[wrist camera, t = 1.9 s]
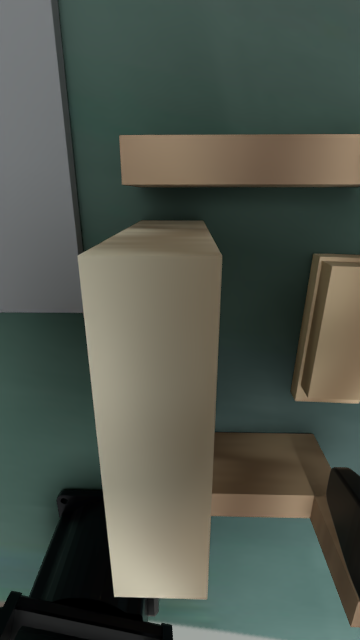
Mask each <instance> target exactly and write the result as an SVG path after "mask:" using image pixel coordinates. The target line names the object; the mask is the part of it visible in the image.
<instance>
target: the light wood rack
mask: <svg viewBox="0 0 360 640" xmlns="http://www.w3.org/2000/svg"><path fill="white" fill-rule="evenodd" d="M119 140H120V157H121V175H122V185H128V186H135V187H360V134H278V135H119ZM330 471H331V467H330V465H329V464H328V462H327V460H326V458H325V456H324V454H323V452H322V450H321V448H320V446H319V444H318V442H317V440H316V438H315V437H314V435H313V434H287V433H225V432H215V434H214V456H213V479H212V501H211V516H234V517H280V518H310V519H311V522H312V525H313V527H314V530H315V533H316V535H317V538H318V541H319V544H320V546H321V549H322V552H323V554H324V557H325V560H326V562H327V565H328V568H329V570H330V573H331V576H332V578H333V581H334V584H335V586H336V589H337V592H338V594H339V597H340V600H341V602H342V605H343V608H344V610H345V613H346V616H347V618H348V621H349V624H350V626H351V627H360V600H359V597H358V595H357V592H356V590H355V587H354V585H353V582H352V580H351V577H350V575H349V572H348V569H347V566H346V563H345V560H344V557H343V554H342V550H341V547H340V544H339V540H338V537H337V533H336V530H335V527H334V523H333V520H332V517H331V513H330V510H329V506H328V503H327V499H326V490H327V485H328V480H329V475H330Z"/></svg>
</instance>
